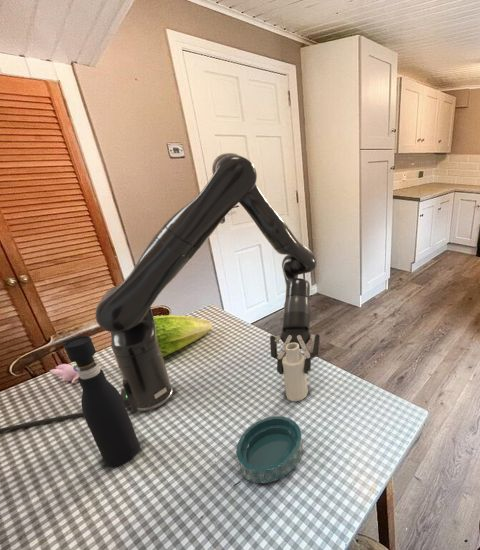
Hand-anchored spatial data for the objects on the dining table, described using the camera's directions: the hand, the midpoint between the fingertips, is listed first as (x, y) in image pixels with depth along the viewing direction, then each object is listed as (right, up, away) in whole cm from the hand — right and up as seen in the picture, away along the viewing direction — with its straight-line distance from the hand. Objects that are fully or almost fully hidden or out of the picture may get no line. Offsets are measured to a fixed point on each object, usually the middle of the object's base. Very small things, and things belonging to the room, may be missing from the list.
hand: (293, 373), depth 82 cm
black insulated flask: (-36, -14, -13) cm, 40 cm away
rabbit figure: (-68, -5, +10) cm, 68 cm away
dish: (-2, -14, -13) cm, 19 cm away
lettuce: (-46, +2, +26) cm, 53 cm away
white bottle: (0, -7, +5) cm, 9 cm away
